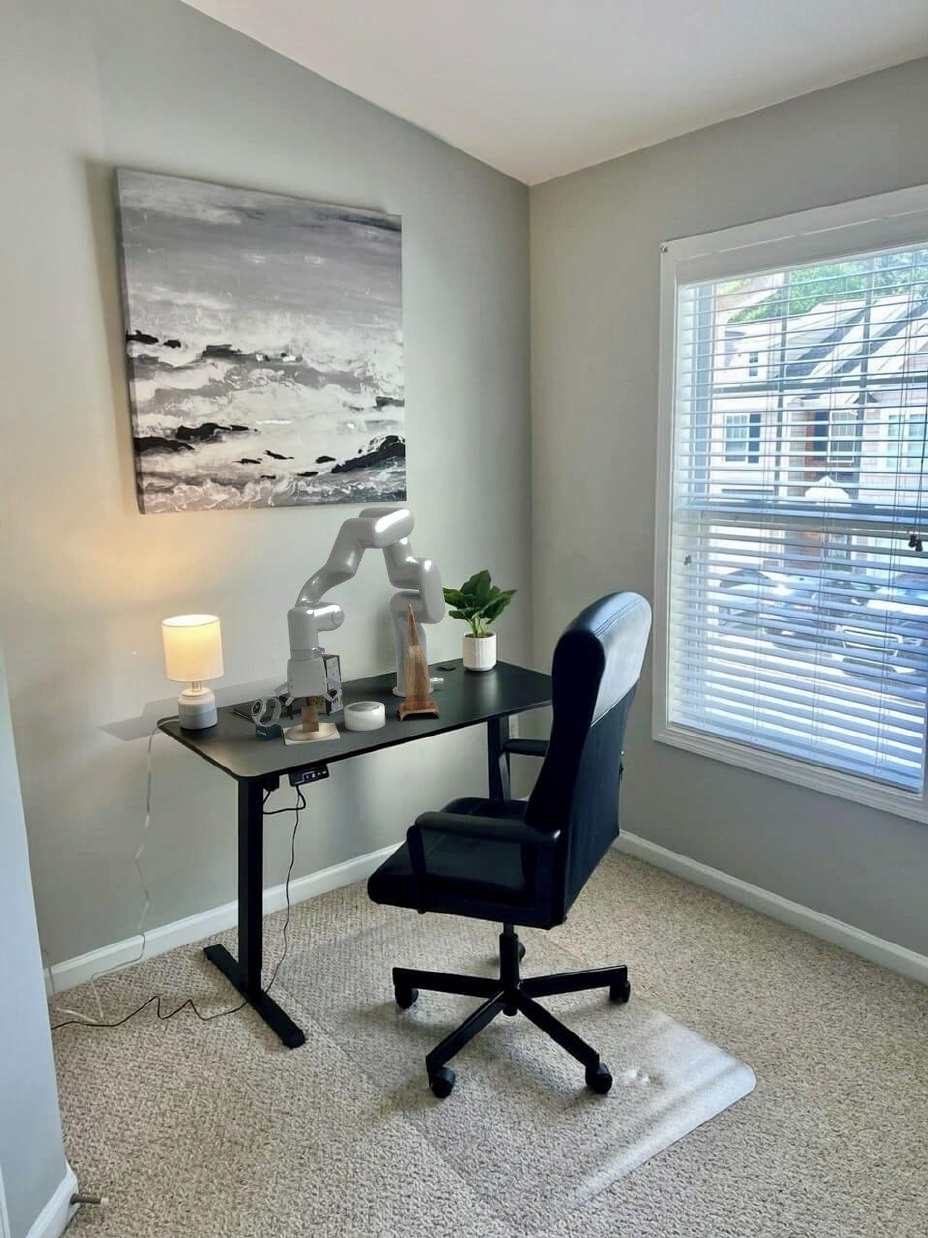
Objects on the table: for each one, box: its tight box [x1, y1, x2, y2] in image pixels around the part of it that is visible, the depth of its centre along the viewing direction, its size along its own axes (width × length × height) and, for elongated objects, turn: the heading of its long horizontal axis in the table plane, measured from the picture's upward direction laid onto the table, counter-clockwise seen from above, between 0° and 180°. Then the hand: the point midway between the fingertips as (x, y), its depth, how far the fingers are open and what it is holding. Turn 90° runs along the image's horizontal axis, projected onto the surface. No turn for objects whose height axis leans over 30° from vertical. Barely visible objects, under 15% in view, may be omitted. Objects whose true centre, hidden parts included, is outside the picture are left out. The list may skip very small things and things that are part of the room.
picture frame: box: [233, 692, 307, 724], centre depth 263 cm, size 16×3×21 cm
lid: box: [286, 706, 336, 741], centre depth 238 cm, size 13×13×7 cm
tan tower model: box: [398, 604, 441, 721], centre depth 250 cm, size 11×12×32 cm
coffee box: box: [306, 653, 344, 715], centre depth 259 cm, size 9×6×16 cm
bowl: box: [343, 701, 386, 732], centre depth 244 cm, size 11×11×5 cm
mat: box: [282, 722, 341, 746], centre depth 238 cm, size 14×14×1 cm
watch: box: [251, 695, 283, 742], centre depth 237 cm, size 6×8×11 cm
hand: (309, 716), depth 237 cm, fingers open, 9 cm apart
